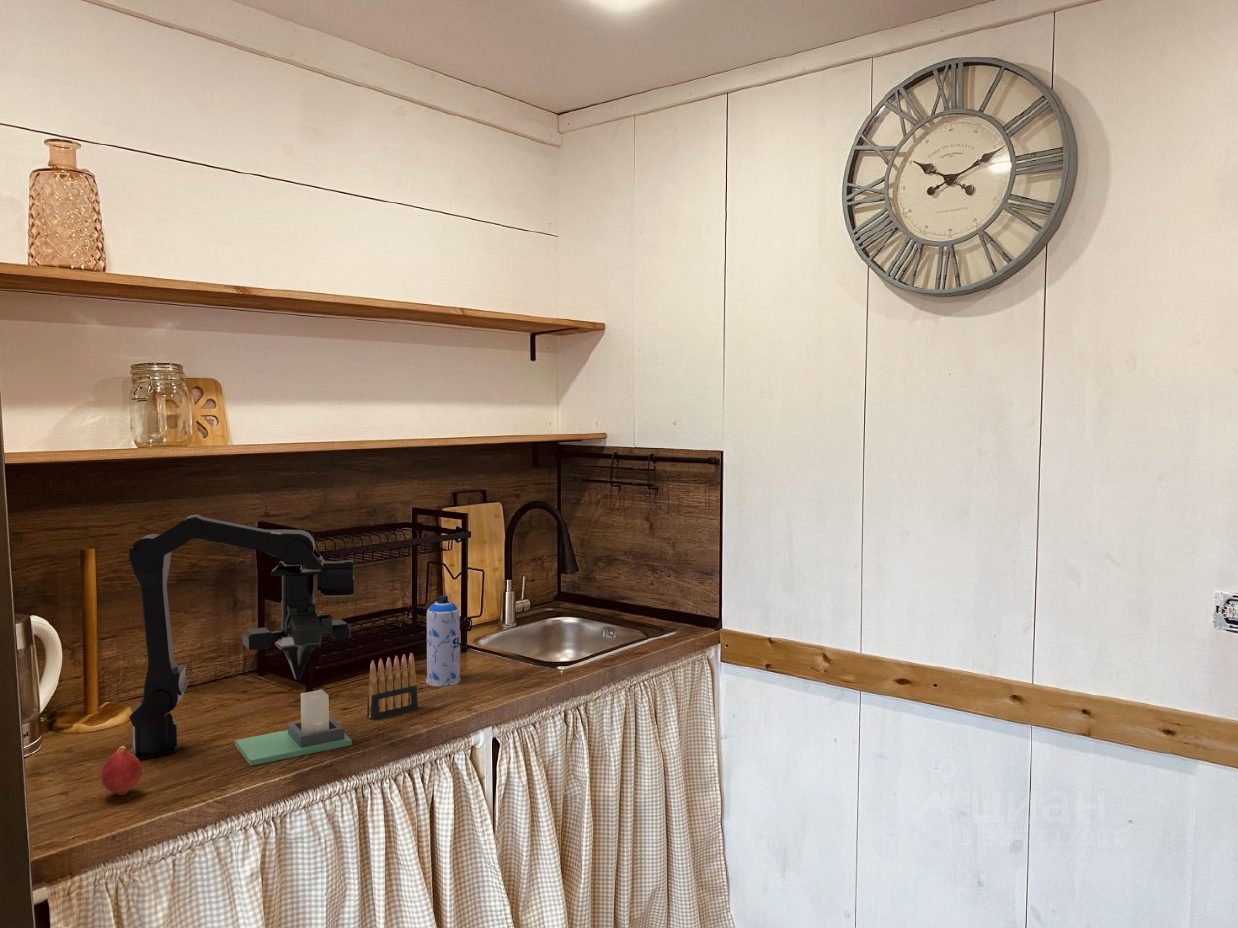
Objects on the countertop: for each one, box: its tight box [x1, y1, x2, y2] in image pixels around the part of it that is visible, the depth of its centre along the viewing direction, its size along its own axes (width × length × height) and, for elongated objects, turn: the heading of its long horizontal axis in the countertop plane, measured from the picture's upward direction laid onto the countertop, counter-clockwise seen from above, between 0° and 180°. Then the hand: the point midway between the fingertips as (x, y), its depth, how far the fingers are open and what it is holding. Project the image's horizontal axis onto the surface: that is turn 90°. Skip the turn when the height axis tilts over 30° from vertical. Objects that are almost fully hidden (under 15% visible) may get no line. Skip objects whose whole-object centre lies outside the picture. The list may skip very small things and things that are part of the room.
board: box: [234, 715, 353, 767], centre depth 168 cm, size 18×12×3 cm, turn 125°
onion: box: [100, 745, 143, 796], centre depth 145 cm, size 6×6×8 cm
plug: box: [300, 689, 330, 734], centre depth 170 cm, size 4×7×8 cm, turn 36°
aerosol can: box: [425, 594, 462, 687], centre depth 208 cm, size 8×8×20 cm
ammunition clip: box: [366, 652, 419, 721], centre depth 186 cm, size 11×2×12 cm, turn 132°
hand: (297, 678), depth 170 cm, fingers closed
